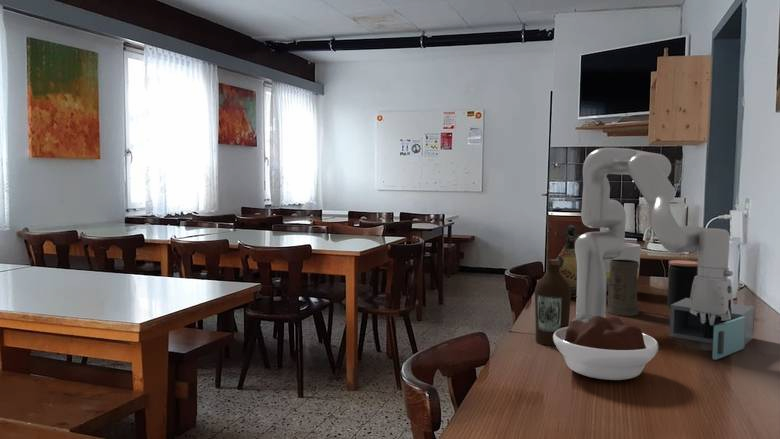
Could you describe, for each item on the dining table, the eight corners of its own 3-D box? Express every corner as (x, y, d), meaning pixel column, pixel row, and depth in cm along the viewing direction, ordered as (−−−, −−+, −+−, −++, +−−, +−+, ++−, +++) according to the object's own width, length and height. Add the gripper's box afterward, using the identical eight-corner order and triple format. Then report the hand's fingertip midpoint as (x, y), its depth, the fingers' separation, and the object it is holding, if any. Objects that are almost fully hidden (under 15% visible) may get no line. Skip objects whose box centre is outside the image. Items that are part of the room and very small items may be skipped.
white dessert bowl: (575, 354, 170) (576, 301, 169) (669, 372, 155) (671, 314, 154) (535, 375, 151) (536, 316, 150) (638, 399, 135) (641, 333, 134)
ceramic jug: (588, 300, 247) (590, 227, 245) (549, 298, 250) (551, 226, 248) (583, 292, 264) (585, 224, 262) (547, 291, 267) (549, 223, 265)
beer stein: (632, 317, 216) (636, 261, 216) (602, 313, 222) (605, 259, 222) (644, 313, 228) (647, 260, 228) (615, 309, 235) (618, 258, 234)
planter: (591, 295, 258) (593, 245, 257) (590, 287, 277) (592, 241, 275) (641, 298, 253) (642, 247, 251) (636, 290, 271) (638, 242, 270)
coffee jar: (691, 306, 238) (693, 260, 237) (702, 311, 227) (704, 264, 226) (663, 305, 239) (665, 259, 238) (673, 311, 228) (675, 263, 227)
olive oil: (538, 335, 190) (540, 256, 189) (573, 340, 185) (575, 259, 183) (529, 343, 181) (531, 260, 179) (565, 348, 176) (567, 263, 174)
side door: (748, 348, 176) (749, 317, 175) (719, 360, 164) (720, 327, 163) (741, 347, 177) (742, 316, 177) (712, 358, 165) (713, 325, 165)
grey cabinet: (740, 348, 177) (742, 314, 177) (669, 336, 191) (670, 304, 190) (753, 338, 189) (754, 306, 189) (684, 327, 203) (686, 297, 202)
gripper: (747, 275, 164) (743, 341, 166) (692, 268, 176) (689, 330, 178) (734, 278, 160) (730, 346, 161) (678, 270, 172) (675, 333, 173)
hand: (708, 337), depth 170 cm, fingers closed
